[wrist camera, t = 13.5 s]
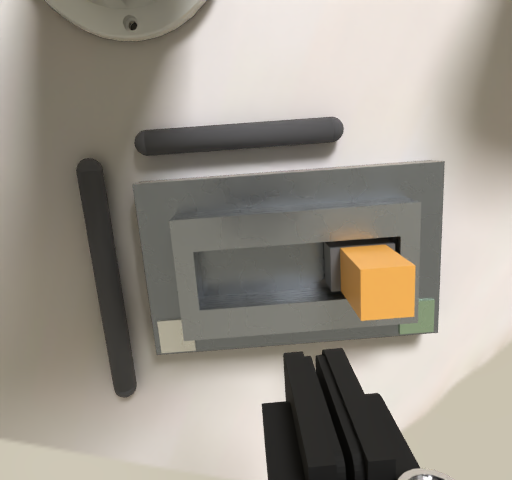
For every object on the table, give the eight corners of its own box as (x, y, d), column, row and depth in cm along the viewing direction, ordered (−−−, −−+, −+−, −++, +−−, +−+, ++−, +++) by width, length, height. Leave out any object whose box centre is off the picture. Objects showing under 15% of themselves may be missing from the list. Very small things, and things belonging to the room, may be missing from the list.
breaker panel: (140, 181, 27) (121, 188, 23) (430, 160, 27) (464, 162, 23) (162, 341, 30) (148, 373, 26) (425, 320, 30) (455, 349, 26)
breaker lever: (323, 241, 26) (348, 270, 20) (384, 236, 26) (427, 264, 20) (325, 281, 27) (349, 321, 21) (383, 276, 27) (425, 315, 21)
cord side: (140, 156, 27) (133, 156, 25) (136, 131, 26) (129, 130, 25) (340, 141, 27) (346, 141, 25) (340, 116, 27) (345, 115, 25)
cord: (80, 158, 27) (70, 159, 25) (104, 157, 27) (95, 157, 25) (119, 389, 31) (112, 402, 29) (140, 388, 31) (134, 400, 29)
